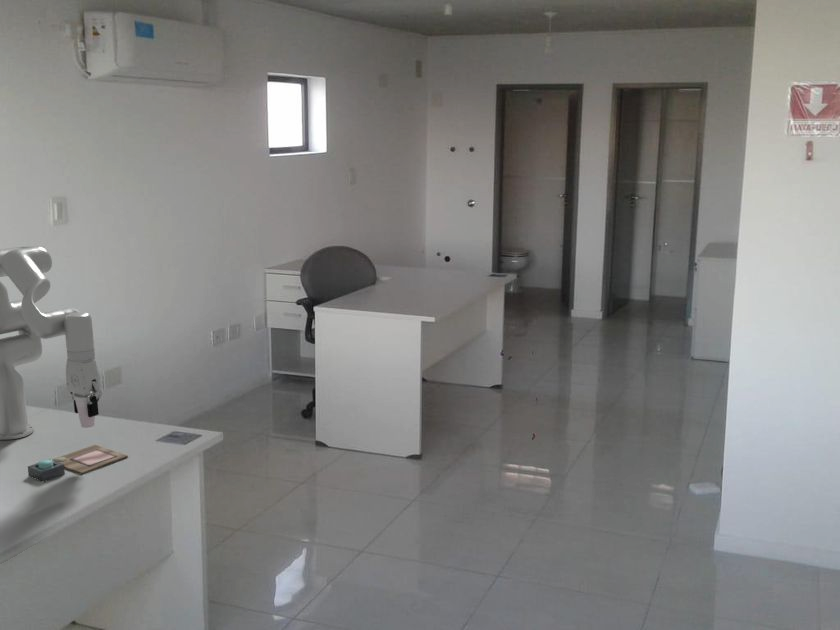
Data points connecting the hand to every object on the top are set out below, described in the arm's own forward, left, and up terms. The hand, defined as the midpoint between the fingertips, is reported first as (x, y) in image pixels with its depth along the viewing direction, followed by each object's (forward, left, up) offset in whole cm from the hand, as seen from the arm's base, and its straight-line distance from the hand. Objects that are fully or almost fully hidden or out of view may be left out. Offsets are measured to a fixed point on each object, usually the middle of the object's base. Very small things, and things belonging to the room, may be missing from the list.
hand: (86, 413), depth 276 cm
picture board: (-1, 0, -15) cm, 15 cm away
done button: (-1, -14, -15) cm, 20 cm away
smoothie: (0, 0, -4) cm, 4 cm away
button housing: (-1, -14, -15) cm, 20 cm away
